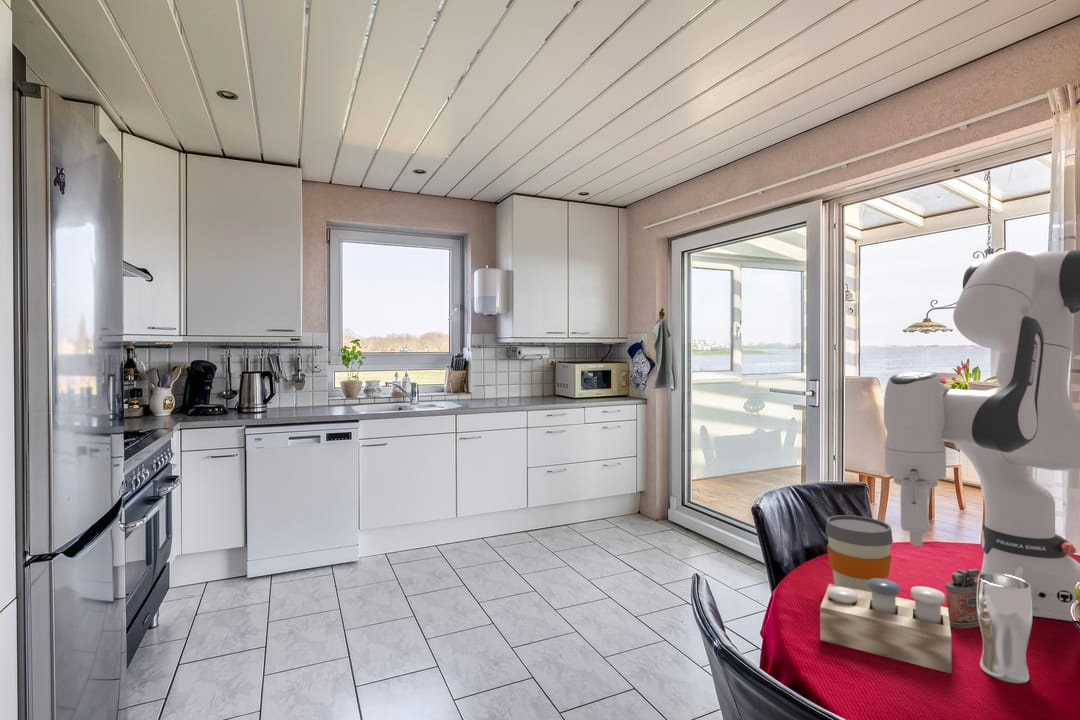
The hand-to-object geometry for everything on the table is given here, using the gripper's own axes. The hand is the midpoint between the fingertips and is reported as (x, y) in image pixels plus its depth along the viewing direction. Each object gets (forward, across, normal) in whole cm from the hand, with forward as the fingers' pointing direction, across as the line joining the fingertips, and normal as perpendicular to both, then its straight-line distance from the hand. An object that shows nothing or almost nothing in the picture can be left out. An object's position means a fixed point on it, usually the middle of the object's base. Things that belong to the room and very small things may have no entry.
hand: (916, 543), depth 96 cm
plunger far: (+18, -1, +12) cm, 21 cm away
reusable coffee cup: (+19, +19, +11) cm, 29 cm away
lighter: (+19, +15, -7) cm, 25 cm away
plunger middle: (+15, -1, +5) cm, 16 cm away
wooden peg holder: (+18, -1, +5) cm, 19 cm away
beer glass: (+19, -2, -11) cm, 22 cm away
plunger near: (+15, -1, -1) cm, 15 cm away
